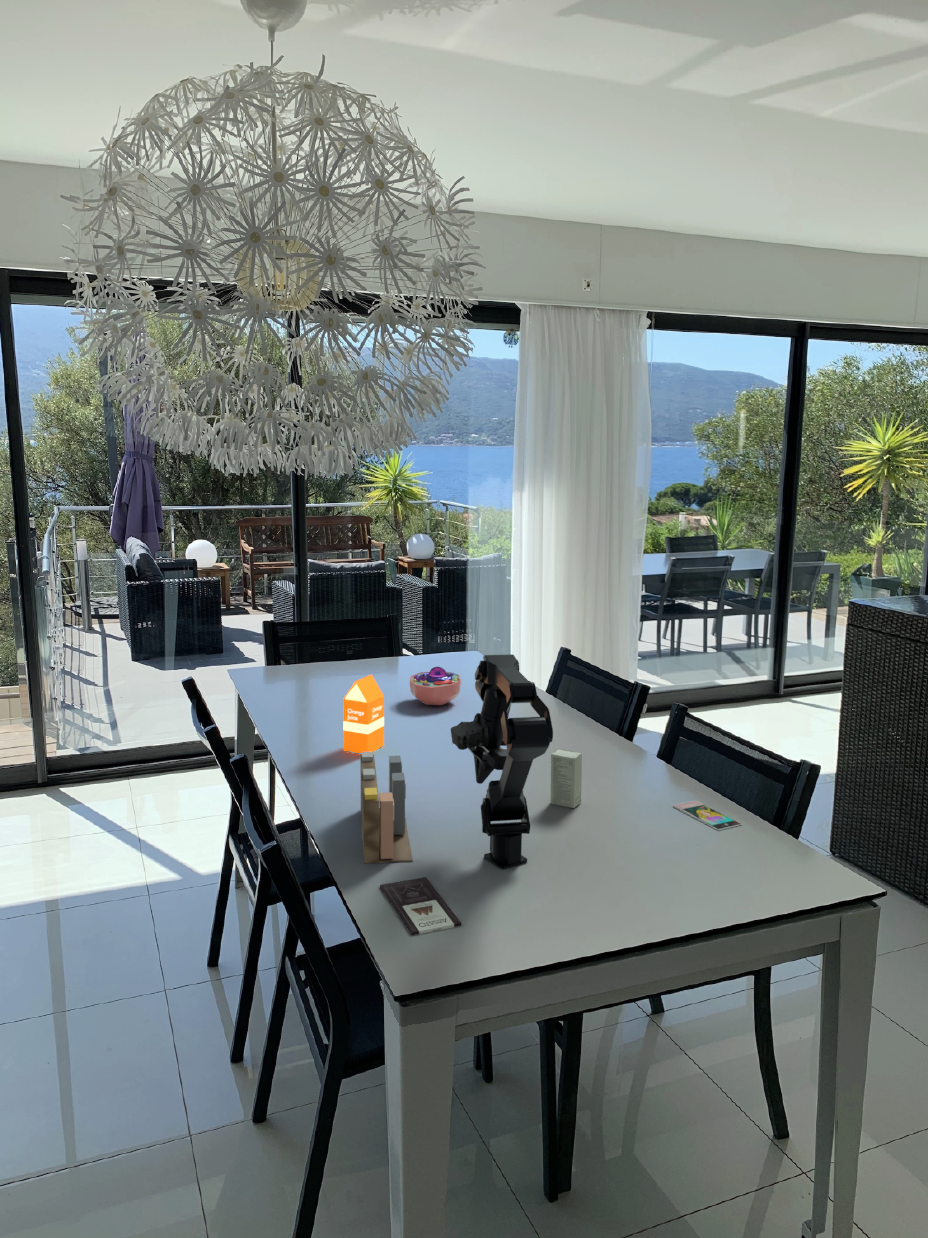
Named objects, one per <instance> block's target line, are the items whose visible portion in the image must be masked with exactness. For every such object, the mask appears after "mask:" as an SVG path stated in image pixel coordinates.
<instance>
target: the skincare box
mask: <svg viewBox="0 0 928 1238" xmlns="http://www.w3.org/2000/svg"><path fill="white" fill-rule="evenodd" d="M582 756H583V755H582V752H577V751H572V750H565V749H561V748H559V749H557V750H555V751H553V752H552V753H550V804H552V805H557V806H560V807H561V806H562V807H564V808H565V807H566V808H573V809H575V808H576V807H577V806H579V805H580V804H581V803H582V775H583V773H582V772H583V771H582V768H583V767H582V766H583V757H582Z"/></svg>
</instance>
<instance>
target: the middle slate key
mask: <svg viewBox="0 0 928 1238" xmlns="http://www.w3.org/2000/svg"><path fill="white" fill-rule="evenodd" d="M406 785H407V783H406V777H405V773H404V772H402V773H392V795H393V800H394V820H393V835H405V820H406V799H407V798H406V797H407V796H406V795H407V794H406V793H407V789H406V787H407V786H406Z"/></svg>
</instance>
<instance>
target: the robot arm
mask: <svg viewBox="0 0 928 1238" xmlns="http://www.w3.org/2000/svg"><path fill="white" fill-rule="evenodd" d="M482 658H483V659H482V660H480V661H479V663H478V665H477V667H476V670H475V673H474V681H475V683H474V688H475V691H476V692H477V694H478V696H479V697H480V700H481V701H482V707H481V710H480V713H479V712H476V714H475V715H474V719H473V720H472V721H460V722H459V723H458V724H457V725H454V726H452V727H450V735H451V742H452V744H453V745H455V746H456V747H457V749H458V750H460V751H462V750H463V751H464V750H467V749H468V750H469V752H471V754H472V755H473V761H474V769H475V770H474V772H475V782H476V783H477V784H478V785H479V784H484V782H485V781H486V780H487V778H488V777H489V776H490V775H491V774H492V772H493V771H494V770H497V771H501V774H500V778H499V780H495V779H494V780H490V781H489V782H488V785H487V786H488V788H487V789H486V794H485V797H483V798H482V802H481V805H480V814H481V832H482V833H483V834H486V835H487V837H489V852H488V853H484V854H483V858H485V859H486V860H487V861H489V862H491V864H493V865H495V866H496V867H498V868H500V869H506V868H510V867H514V866H517V865H520V864H524V863H527V862H528V858H527V857H526V856H523V855H522V848H523V847H522V841H523V840H522V839H523V835H524V834H530V831H531V822H530V816H529V811H528V810H529V809H528V803H527V798H526V796H525V795H524V788H525V785H526V782H527V780H528V776H529V774H530V771H531V768H532V765H533V762H534V760H535V759H537V758H539V757H541V756H542V755H545V754H546V751H547V750H548V749H549V747H550V744H551V743H552V742H553V741H554V740H553V738H554V729H553V724H552V718H551V713H550V709H549V708H548V706H547V705H546V704H545V703H544V701H543V700H542V699H541V698H540V696H539V695H538V693H537V688H536V683H535V682H533V681H530V680H529V679H527V677H525V675H523V674H522V673H521V672H520V662H519V660H518V659H517V658H516V656H515V655H514V654H511V653H510V654H484V655H483V656H482ZM529 703H530V706H531V708H532V709H533V710H534V711H535V712H536V714H537V715H538V716H529V717H527V716H525V717H509V716H510V711H511V707H512V704H529ZM503 747H506V749H505V748H503ZM503 821H511V822H503ZM512 821H513V822H512ZM492 822H495V823H492ZM496 822H497V823H496Z"/></svg>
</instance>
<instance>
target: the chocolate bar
mask: <svg viewBox="0 0 928 1238" xmlns="http://www.w3.org/2000/svg"><path fill="white" fill-rule="evenodd" d="M379 886H380V887H379V888H380V890H381V891H382V893H383V894H384V895H385V897H386V899H387V901H389V904H391V906H392V908H393V910H394V911H395V912H396V914H397V916H398V917H399V918H400V920H401V922H402V923H403V924H404V926H405V927H406V929H407V930H409V931H408V932H409V934H410V935H411V936H415V935H414V934H417V935H421V934H426V932H427V933H431V932H437V931H442V930H446V929H451V928H457V927H462V922H461V920H460V919H459V918H458V916H457V915H456V914H455V913H454V911H453V910H452V909H451V908H450V906H449V905H448V904H447V902H446V900H445V899H444V898H443V897H442V896H441V895H440V893H439V892H438V891H437V890H436V888H435V887H434V886H433V884H432V883H431V882H430V881H429V879H428V878H427V877H426V876H424V877H417V878H412V879H407V880H401V881H394V882H390V883H385V884H384V883H383V884H380V885H379Z"/></svg>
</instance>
